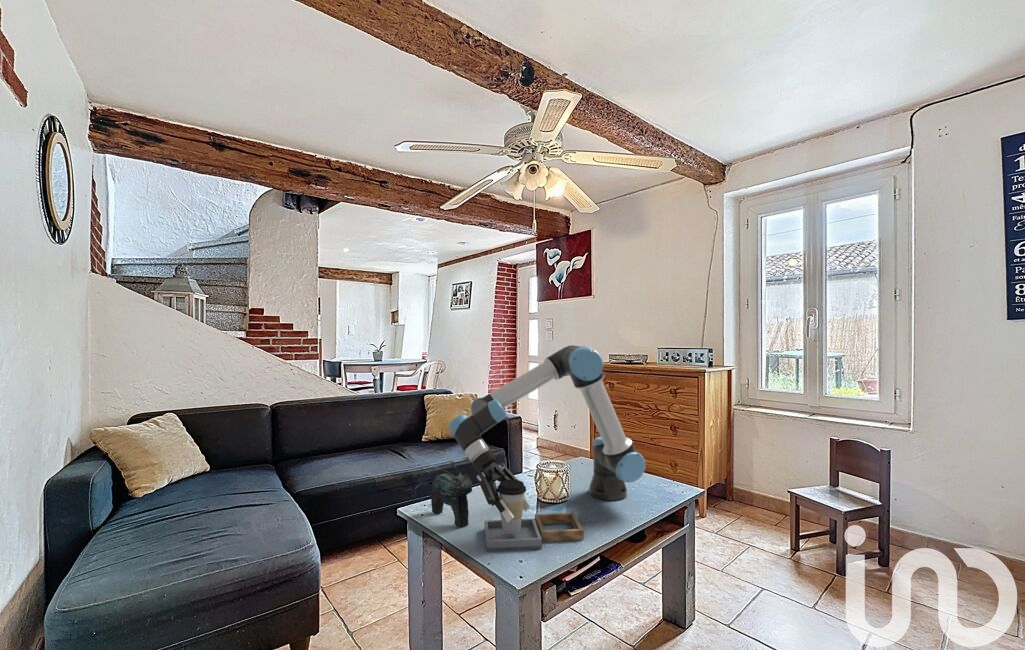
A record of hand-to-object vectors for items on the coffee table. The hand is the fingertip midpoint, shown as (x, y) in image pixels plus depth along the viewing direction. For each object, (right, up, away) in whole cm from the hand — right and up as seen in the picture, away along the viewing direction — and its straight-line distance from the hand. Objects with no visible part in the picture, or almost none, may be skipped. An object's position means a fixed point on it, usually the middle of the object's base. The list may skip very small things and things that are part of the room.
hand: (519, 514), depth 146 cm
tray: (-3, -9, +2) cm, 9 cm away
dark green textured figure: (-25, -9, +16) cm, 31 cm away
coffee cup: (-3, -6, +2) cm, 7 cm away
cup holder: (+13, -9, +7) cm, 17 cm away
